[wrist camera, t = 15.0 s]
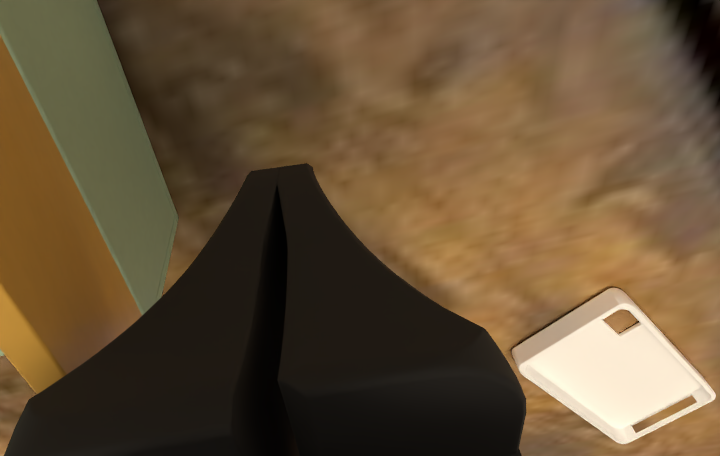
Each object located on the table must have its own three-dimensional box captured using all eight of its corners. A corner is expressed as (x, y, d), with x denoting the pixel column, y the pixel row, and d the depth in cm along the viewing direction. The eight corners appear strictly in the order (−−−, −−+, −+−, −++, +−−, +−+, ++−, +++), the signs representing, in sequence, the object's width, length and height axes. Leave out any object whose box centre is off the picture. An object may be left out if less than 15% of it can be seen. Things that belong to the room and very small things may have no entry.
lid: (-96, -102, 9) (-71, -107, 10) (144, 350, 17) (157, 344, 18) (-272, 14, 4) (-202, 2, 4) (212, 614, 12) (229, 604, 12)
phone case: (505, 350, 32) (613, 430, 40) (513, 369, 31) (622, 447, 39) (615, 282, 29) (707, 381, 37) (628, 300, 28) (720, 398, 36)
